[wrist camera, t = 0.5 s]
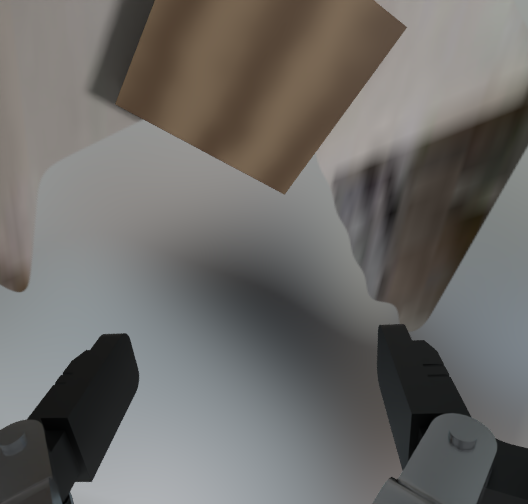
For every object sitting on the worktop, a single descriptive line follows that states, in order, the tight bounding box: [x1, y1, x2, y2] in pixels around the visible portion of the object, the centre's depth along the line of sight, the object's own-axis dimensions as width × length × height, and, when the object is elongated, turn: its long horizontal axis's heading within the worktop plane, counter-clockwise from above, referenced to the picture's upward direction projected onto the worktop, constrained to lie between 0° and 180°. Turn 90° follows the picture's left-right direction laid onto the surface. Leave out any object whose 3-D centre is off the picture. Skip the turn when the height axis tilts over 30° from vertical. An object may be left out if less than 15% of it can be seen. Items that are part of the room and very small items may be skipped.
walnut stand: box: [115, 0, 407, 194], centre depth 31 cm, size 16×16×3 cm
